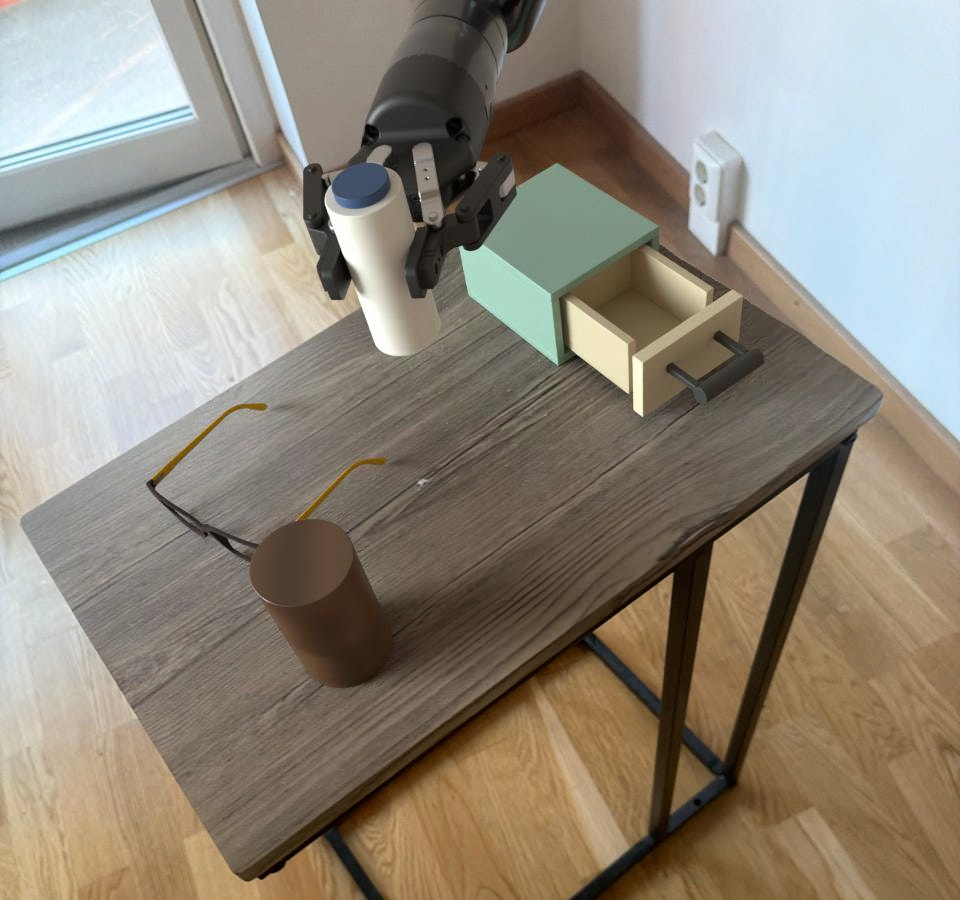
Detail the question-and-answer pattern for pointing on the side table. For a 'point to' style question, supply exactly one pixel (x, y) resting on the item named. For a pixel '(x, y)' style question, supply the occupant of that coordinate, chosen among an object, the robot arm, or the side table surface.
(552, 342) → the cabinet
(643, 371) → the drawer
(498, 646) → the side table surface
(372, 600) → the stand
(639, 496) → the side table surface
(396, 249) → the tube
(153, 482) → the eyeglasses
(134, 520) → the side table surface
